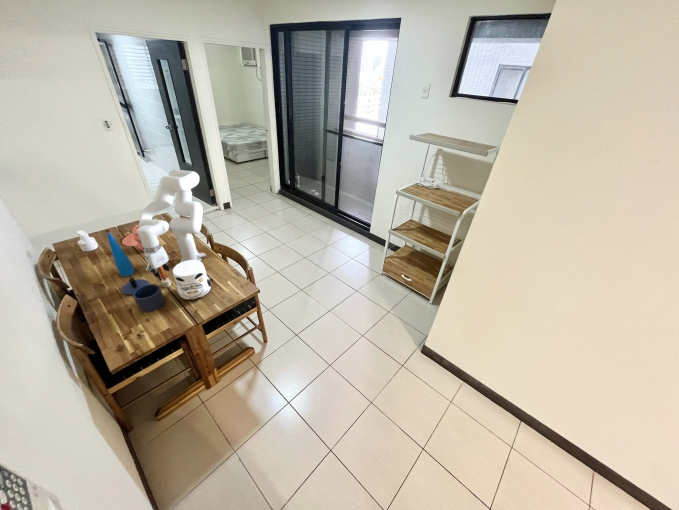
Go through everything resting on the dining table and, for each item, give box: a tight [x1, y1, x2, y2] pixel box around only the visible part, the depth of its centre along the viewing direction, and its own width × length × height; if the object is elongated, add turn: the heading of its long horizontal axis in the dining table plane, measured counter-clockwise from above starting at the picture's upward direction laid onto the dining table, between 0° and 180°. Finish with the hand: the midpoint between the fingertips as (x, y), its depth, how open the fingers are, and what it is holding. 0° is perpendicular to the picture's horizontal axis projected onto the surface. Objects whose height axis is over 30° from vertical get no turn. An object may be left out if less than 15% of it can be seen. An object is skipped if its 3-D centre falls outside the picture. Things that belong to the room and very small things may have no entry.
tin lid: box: [121, 277, 149, 296], centre depth 158 cm, size 13×13×6 cm
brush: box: [157, 265, 172, 289], centre depth 157 cm, size 4×4×19 cm
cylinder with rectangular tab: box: [76, 229, 99, 252], centre depth 186 cm, size 9×9×12 cm
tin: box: [132, 283, 166, 313], centre depth 147 cm, size 12×12×9 cm
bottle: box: [104, 228, 136, 277], centre depth 162 cm, size 7×7×30 cm
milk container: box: [172, 260, 212, 301], centre depth 154 cm, size 17×17×18 cm
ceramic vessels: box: [121, 224, 144, 252], centre depth 194 cm, size 35×21×19 cm, turn 46°
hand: (162, 273), depth 158 cm, fingers open, 5 cm apart
